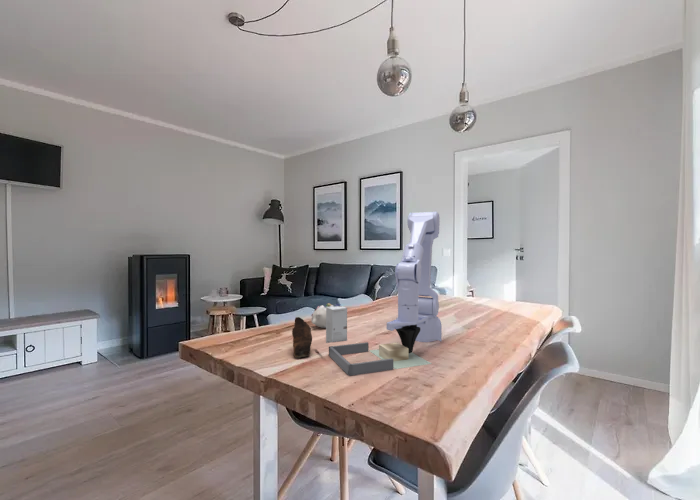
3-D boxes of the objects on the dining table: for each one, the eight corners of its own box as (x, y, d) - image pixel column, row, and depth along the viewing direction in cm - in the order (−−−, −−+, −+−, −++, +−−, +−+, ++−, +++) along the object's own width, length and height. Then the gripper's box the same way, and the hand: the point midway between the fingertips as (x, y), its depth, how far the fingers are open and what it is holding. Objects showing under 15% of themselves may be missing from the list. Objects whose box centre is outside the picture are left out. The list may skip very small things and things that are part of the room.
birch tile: (397, 352, 96) (397, 342, 96) (408, 359, 91) (408, 348, 91) (379, 355, 94) (379, 344, 94) (389, 362, 89) (389, 350, 89)
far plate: (401, 351, 102) (401, 346, 102) (431, 369, 87) (431, 363, 87) (368, 355, 98) (368, 350, 98) (395, 374, 83) (395, 369, 83)
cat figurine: (332, 300, 142) (314, 301, 128) (346, 311, 139) (329, 313, 125) (320, 318, 143) (302, 321, 129) (334, 330, 140) (317, 334, 126)
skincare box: (332, 346, 107) (332, 309, 107) (325, 343, 111) (325, 307, 111) (348, 343, 110) (348, 307, 110) (340, 340, 114) (340, 305, 114)
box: (367, 355, 98) (367, 342, 98) (393, 375, 83) (393, 359, 83) (328, 360, 94) (328, 346, 94) (348, 382, 79) (348, 365, 79)
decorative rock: (293, 347, 107) (293, 313, 107) (312, 346, 107) (312, 313, 107) (290, 359, 95) (290, 322, 95) (312, 359, 95) (312, 321, 95)
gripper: (415, 300, 101) (415, 344, 101) (379, 304, 93) (379, 353, 93) (433, 303, 96) (433, 350, 96) (396, 308, 87) (396, 360, 87)
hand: (407, 352), depth 94 cm, fingers closed
